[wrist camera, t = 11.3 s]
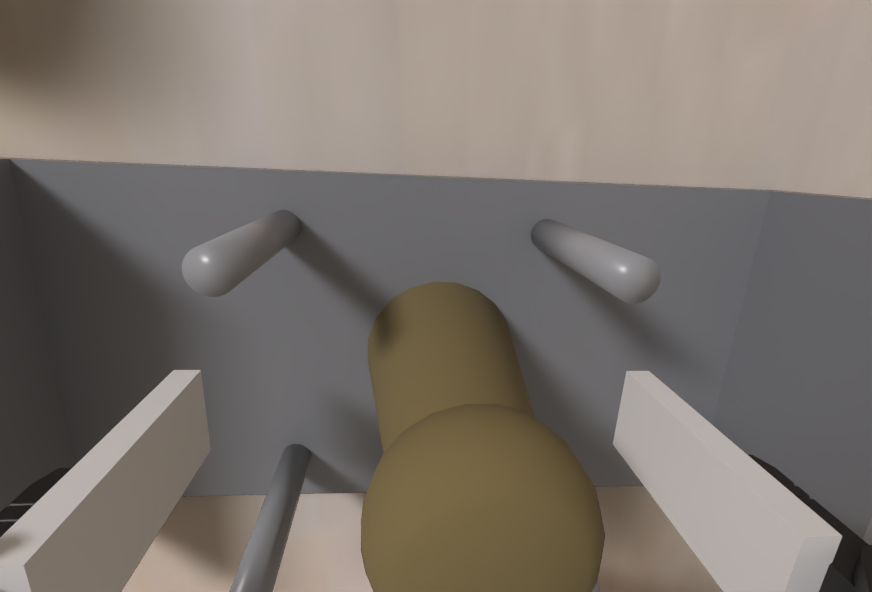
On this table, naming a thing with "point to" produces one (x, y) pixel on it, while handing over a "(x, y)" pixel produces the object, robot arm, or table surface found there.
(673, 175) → the table surface
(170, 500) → the robot arm
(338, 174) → the rack
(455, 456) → the cork
